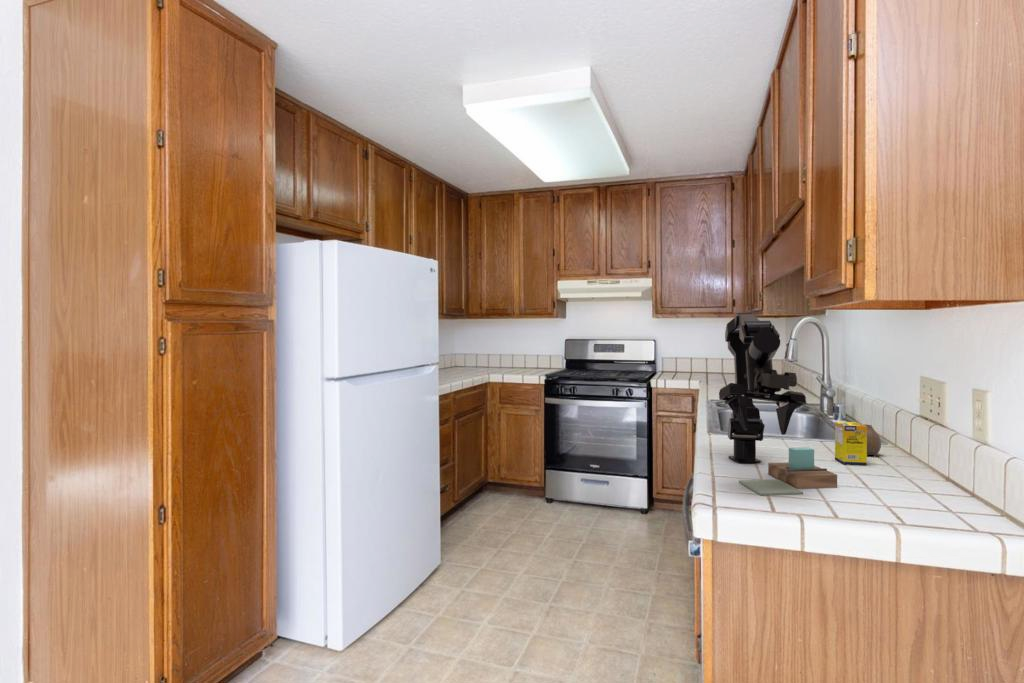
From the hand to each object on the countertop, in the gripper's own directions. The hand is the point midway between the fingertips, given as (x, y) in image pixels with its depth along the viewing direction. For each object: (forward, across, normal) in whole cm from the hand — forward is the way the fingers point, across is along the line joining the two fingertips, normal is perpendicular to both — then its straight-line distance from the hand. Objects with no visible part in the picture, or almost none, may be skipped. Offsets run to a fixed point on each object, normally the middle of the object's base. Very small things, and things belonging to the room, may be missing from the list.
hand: (764, 432), depth 121 cm
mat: (+11, +4, +7) cm, 14 cm away
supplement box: (-1, +39, +24) cm, 46 cm away
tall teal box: (+8, +15, +11) cm, 21 cm away
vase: (-6, +50, +30) cm, 59 cm away
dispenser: (+8, +15, +11) cm, 21 cm away
